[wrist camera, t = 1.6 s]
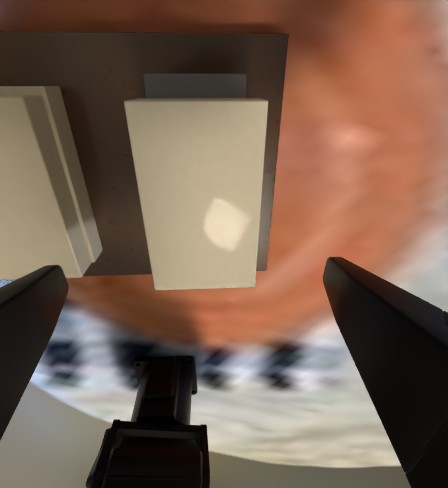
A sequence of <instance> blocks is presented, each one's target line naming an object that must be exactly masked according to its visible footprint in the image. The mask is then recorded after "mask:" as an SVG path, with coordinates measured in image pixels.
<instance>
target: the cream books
mask: <svg viewBox="0 0 448 488" xmlns="http://www.w3.org/2000/svg"><path fill="white" fill-rule="evenodd" d="M102 250H103V249H102V245H101V241H100V237H99V234H98V230H97V226H96V222H95V218H94V215H93V211H92V207H91V203H90V199H89V196H88V192H87V188H86V184H85V181H84V177H83V173H82V169H81V165H80V162H79V158H78V154H77V150H76V146H75V143H74V139H73V135H72V131H71V127H70V124H69V120H68V116H67V112H66V108H65V105H64V101H63V97H62V93H61V89H60V87H59V86H0V280H17V279H19V278H21V277H23V276H25V275H27V274H29V273H31V272H33V271H35V270H37V269H39V268H41V267H43V266H46V265H59V266H61V267H62V269H63V272H64V275H65V277H66V278H81V277H82V276H83V275H84V273H85V272H86V270H87V269H88V267H89V266H90V264H91V262H95V261H96V259H97V258H98V256H99V255H100V253H101V252H102Z"/></svg>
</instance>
